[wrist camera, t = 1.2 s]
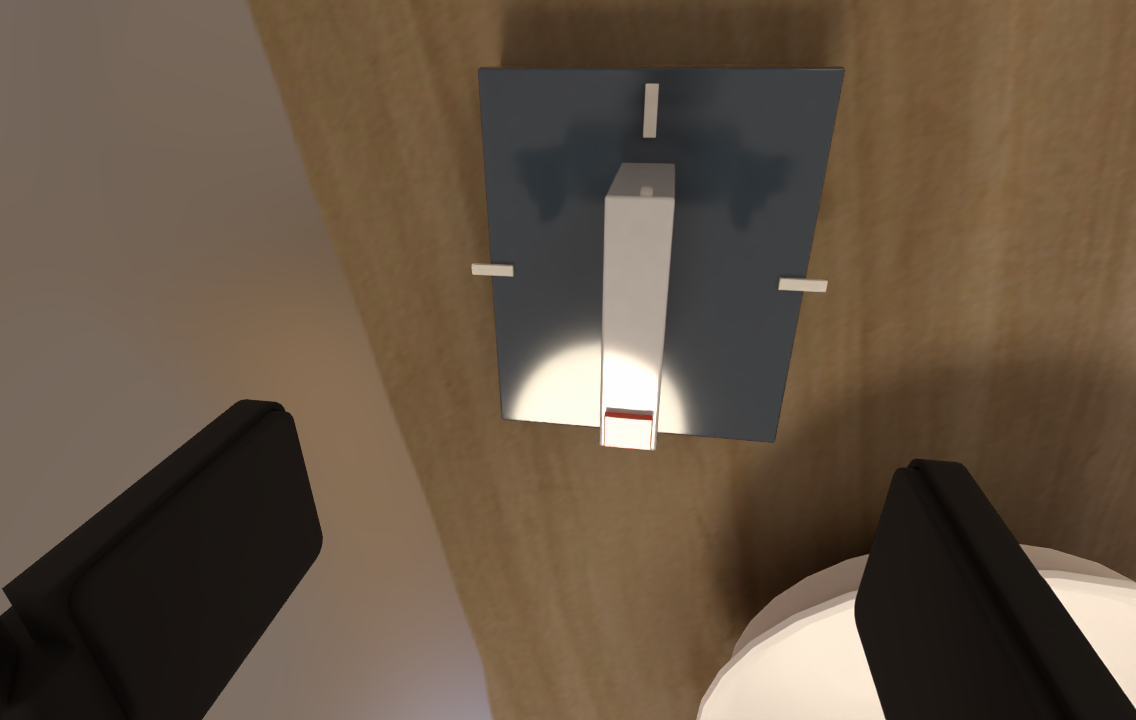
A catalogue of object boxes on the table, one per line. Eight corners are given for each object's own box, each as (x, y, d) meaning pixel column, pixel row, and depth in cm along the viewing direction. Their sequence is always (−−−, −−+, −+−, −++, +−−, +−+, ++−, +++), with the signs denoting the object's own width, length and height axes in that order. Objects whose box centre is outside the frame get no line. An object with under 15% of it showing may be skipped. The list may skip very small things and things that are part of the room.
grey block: (620, 162, 18) (603, 197, 13) (675, 163, 17) (675, 200, 13) (613, 370, 21) (597, 451, 17) (660, 374, 21) (655, 457, 16)
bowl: (610, 555, 28) (594, 680, 23) (1085, 360, 21) (1237, 478, 15) (807, 785, 34) (832, 930, 29) (1235, 701, 26) (1384, 876, 21)
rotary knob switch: (481, 64, 19) (454, 67, 17) (846, 64, 18) (872, 66, 15) (502, 386, 25) (484, 421, 23) (781, 407, 23) (793, 448, 21)
